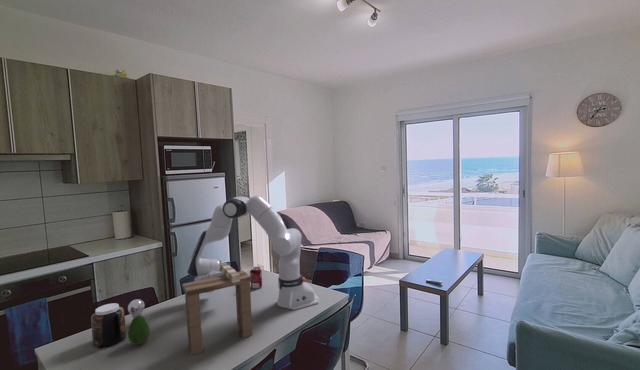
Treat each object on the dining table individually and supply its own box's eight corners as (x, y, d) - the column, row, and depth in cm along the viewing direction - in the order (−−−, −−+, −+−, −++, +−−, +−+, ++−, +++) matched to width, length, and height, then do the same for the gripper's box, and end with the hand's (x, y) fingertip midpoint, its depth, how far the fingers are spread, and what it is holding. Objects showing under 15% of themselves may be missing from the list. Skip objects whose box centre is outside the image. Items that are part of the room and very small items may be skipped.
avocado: (145, 336, 140) (143, 310, 139) (153, 342, 135) (151, 315, 134) (125, 344, 133) (123, 317, 133) (133, 351, 128) (130, 322, 128)
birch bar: (219, 269, 147) (219, 263, 147) (226, 268, 148) (225, 262, 148) (232, 283, 130) (232, 275, 130) (239, 281, 132) (239, 274, 131)
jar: (106, 350, 129) (103, 315, 128) (86, 346, 133) (83, 311, 132) (132, 335, 140) (129, 303, 139) (113, 331, 144) (110, 300, 143)
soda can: (259, 289, 187) (258, 270, 186) (249, 289, 189) (248, 269, 188) (263, 285, 194) (263, 266, 193) (253, 285, 195) (252, 266, 194)
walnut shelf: (186, 343, 133) (182, 283, 131) (245, 325, 147) (243, 270, 145) (190, 355, 124) (186, 291, 122) (253, 334, 138) (250, 277, 136)
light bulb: (125, 326, 149) (123, 302, 148) (138, 319, 155) (136, 296, 154) (136, 328, 146) (134, 303, 145) (149, 321, 153) (147, 297, 152)
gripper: (191, 278, 162) (195, 272, 151) (230, 270, 173) (237, 263, 162) (193, 291, 160) (197, 285, 149) (233, 281, 171) (239, 275, 160)
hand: (218, 274), depth 156 cm, fingers open, 8 cm apart
